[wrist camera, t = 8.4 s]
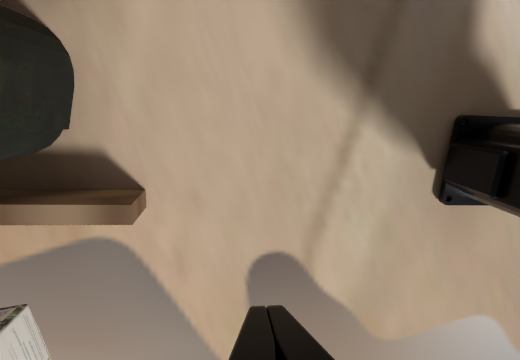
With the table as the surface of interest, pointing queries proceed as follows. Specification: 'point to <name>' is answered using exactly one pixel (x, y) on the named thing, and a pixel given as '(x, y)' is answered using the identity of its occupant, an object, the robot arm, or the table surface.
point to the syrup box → (20, 335)
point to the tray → (70, 206)
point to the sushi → (32, 85)
